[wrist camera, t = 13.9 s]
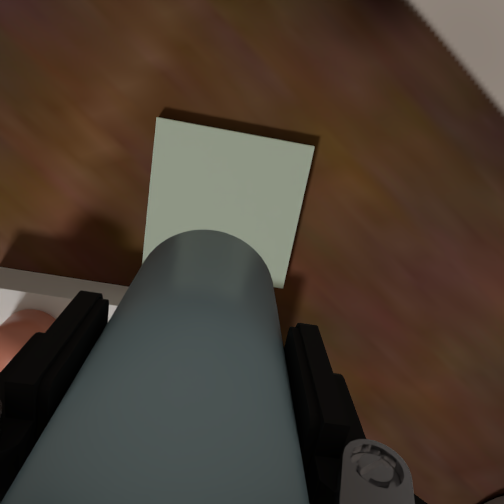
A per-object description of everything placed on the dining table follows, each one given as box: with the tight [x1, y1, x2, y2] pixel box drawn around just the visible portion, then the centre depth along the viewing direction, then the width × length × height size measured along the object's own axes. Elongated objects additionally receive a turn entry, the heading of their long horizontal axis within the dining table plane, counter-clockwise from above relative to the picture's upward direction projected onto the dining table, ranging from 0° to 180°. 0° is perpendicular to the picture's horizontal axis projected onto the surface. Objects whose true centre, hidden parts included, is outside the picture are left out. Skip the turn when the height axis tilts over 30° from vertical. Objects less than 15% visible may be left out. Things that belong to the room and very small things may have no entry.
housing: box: [0, 267, 129, 325], centre depth 32 cm, size 20×18×3 cm
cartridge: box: [0, 229, 309, 504], centre depth 10 cm, size 6×6×12 cm
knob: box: [0, 309, 56, 372], centre depth 28 cm, size 4×4×6 cm
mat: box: [142, 117, 315, 288], centre depth 28 cm, size 10×10×1 cm
